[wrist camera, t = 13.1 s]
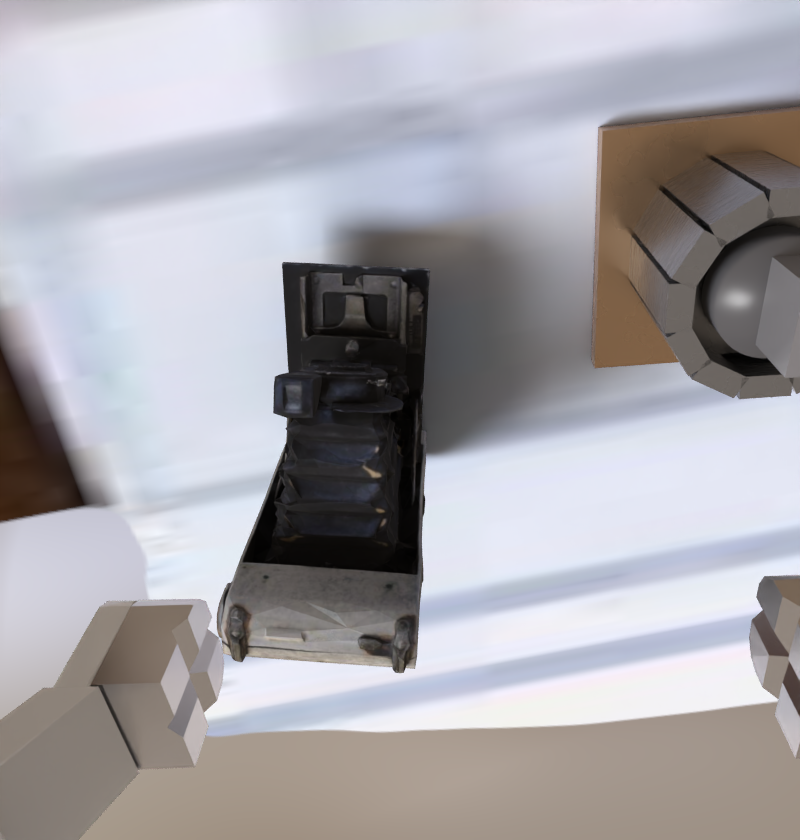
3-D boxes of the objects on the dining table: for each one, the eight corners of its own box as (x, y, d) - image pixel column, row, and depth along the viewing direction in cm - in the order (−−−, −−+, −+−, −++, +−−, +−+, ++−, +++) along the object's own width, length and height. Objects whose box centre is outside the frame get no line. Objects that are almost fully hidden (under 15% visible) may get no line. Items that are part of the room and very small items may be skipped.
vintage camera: (443, 251, 43) (434, 399, 26) (430, 466, 50) (416, 696, 33) (285, 242, 43) (170, 383, 26) (295, 457, 51) (210, 679, 33)
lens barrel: (598, 127, 39) (638, 160, 31) (872, 98, 37) (987, 126, 29) (591, 359, 46) (622, 435, 38) (821, 342, 44) (902, 418, 36)
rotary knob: (710, 229, 34) (753, 268, 29) (842, 221, 33) (908, 259, 29) (694, 344, 37) (731, 395, 32) (815, 338, 36) (869, 389, 32)
